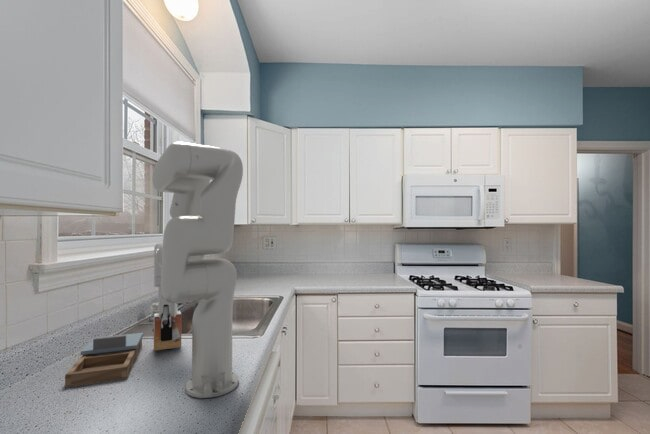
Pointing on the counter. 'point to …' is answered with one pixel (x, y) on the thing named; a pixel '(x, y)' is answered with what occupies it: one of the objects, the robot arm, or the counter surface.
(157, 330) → the small box
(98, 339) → the cover
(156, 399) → the counter surface
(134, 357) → the brown wooden shallow tray
